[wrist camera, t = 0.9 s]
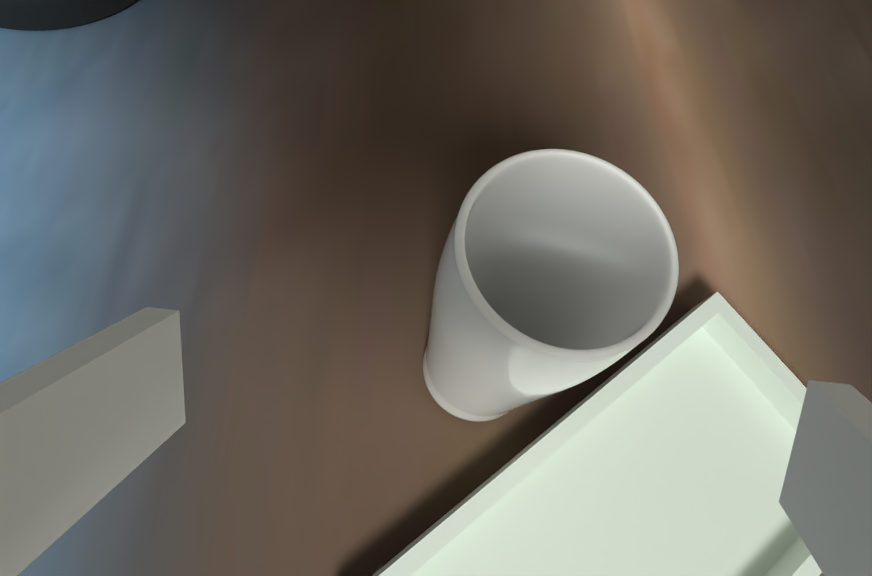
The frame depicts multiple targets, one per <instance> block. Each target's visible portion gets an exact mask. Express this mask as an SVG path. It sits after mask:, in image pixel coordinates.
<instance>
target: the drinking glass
mask: <svg viewBox="0 0 872 576" xmlns="http://www.w3.org/2000/svg"><path fill="white" fill-rule="evenodd" d="M678 276H679V262H678V253H677V247H676V243H675V239H674V236H673V233H672V230H671V228H670V225H669V223H668V221H667V219H666V217H665V215H664V213H663V212H662V210H661V208H660V207H659V205H658V204H657V203H656V201H655V200H654V199H653V197H652V196H651V195H650V194H649V193H648V192H647V190H646V189H645V188H644V187H643V186H641V185H640V184H639V183H638V182H637V181H636V180H635V179H634V178H632V177H631V176H630V175H628V174H627V173H626V172H624V171H623V170H621V169H620V168H618V167H616V166H615V165H613V164H611V163H609V162H607V161H605V160H603V159H600V158H598V157H595V156H592V155H589V154H586V153H582V152H578V151H573V150H565V149H540V150H532V151H528V152H524V153H520V154H517V155H514V156H512V157H510V158H507V159H505V160H503V161H501V162H500V163H498V164H496V165H495V166H493V167H492V168H491V169H489V170H488V171H487V172H486V173H484V174H483V175H482V176H481V177H480V178H479V179H478V180H477V181H476V183H475V184H474V185H473V186H472V188H471V189H470V190H469V192H468V193H467V195H466V197H465V199H464V201H463V203H462V205H461V208H460V210H459V212H458V214H457V216H456V218H455V220H454V223H453V225H452V227H451V230H450V232H449V235H448V237H447V240H446V242H445V245H444V248H443V252H442V255H441V258H440V262H439V265H438V269H437V274H436V279H435V285H434V292H433V301H432V310H431V320H430V329H429V337H428V343H427V346H426V349H425V352H424V357H423V374H424V379H425V382H426V385H427V388H428V390H429V392H430V394H431V395H432V397H433V398H434V400H435V401H436V402H437V403H438V404H439V405H440V406H441V407H442V408H443V409H444V410H446V411H447V412H449V413H450V414H452V415H454V416H456V417H458V418H461V419H464V420H469V421H489V420H493V419H496V418H499V417H501V416H503V415H505V414H507V413H508V412H510V411H511V410H513V409H515V408H518V407H520V406H523V405H526V404H528V403H531V402H534V401H537V400H539V399H542V398H545V397H548V396H551V395H553V394H556V393H559V392H561V391H564V390H567V389H569V388H571V387H573V386H576V385H578V384H580V383H582V382H584V381H586V380H588V379H590V378H591V377H593V376H595V375H597V374H598V373H600V372H602V371H603V370H605V369H606V368H608V367H609V366H611V365H612V364H614V363H615V362H617V361H618V360H619V359H621V358H622V357H623V356H625V355H626V354H627V353H628V352H630V351H631V350H632V349H633V348H635V347H636V346H637V345H638V344H640V343H641V342H642V341H644V340H645V339H646V338H647V337H648V336H649V335H650V334H652V333H653V332H654V331H655V329H656V328H657V327H658V326H659V325H660V323H661V322H662V321H663V319H664V318H665V316H666V314H667V313H668V311H669V309H670V307H671V304H672V302H673V299H674V296H675V293H676V288H677V283H678Z"/></svg>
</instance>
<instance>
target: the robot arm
mask: <svg viewBox="0 0 872 576" xmlns="http://www.w3.org/2000/svg"><path fill="white" fill-rule="evenodd" d="M136 1H137V0H0V28H6V29H14V30H34V31H36V30H54V29H62V28H69V27H74V26H79V25H83V24H87V23H90V22H93V21H97V20H100V19H102V18H105V17H107V16H110V15H112V14H114V13H116V12H119V11H120V10H122V9H124V8H126V7H128V6H129V5H131V4H133V3H134V2H136ZM184 423H185V407H184V389H183V372H182V354H181V337H180V319H179V311H178V310H169V309H159V308H150V307H146V308H144V309H142V310H140V311H138V312H136V313H134V314H132V315H131V316H129V317H127V318H125V319H123V320H121V321H119V322H117V323H115V324H113V325H111V326H109V327H107V328H105V329H104V330H102V331H100V332H98V333H96V334H94V335H92V336H90V337H88V338H86V339H84V340H82V341H80V342H79V343H77V344H75V345H73V346H71V347H69V348H67V349H65V350H63V351H61V352H59V353H57V354H55V355H53V356H52V357H50V358H48V359H46V360H44V361H42V362H40V363H38V364H36V365H34V366H32V367H30V368H28V369H26V370H25V371H23V372H21V373H19V374H17V375H15V376H13V377H11V378H9V379H7V380H5V381H3V382H1V383H0V576H17V575H18V574H19V573H20V572H21V571H23V570H24V569H25V568H26V567H27V566H28V565H29V564H30V563H31V562H32V561H34V560H35V559H36V558H37V557H38V556H39V555H40V554H41V553H42V552H43V551H45V550H46V549H47V548H48V547H49V546H50V545H51V544H52V543H53V542H54V541H56V540H57V539H58V538H59V537H60V536H61V535H62V534H63V533H64V532H65V531H67V530H68V529H69V528H70V527H71V526H72V525H73V524H74V523H75V522H77V521H78V520H79V519H80V518H81V517H82V516H83V515H84V514H85V513H86V512H88V511H89V510H90V509H91V508H92V507H93V506H94V505H95V504H96V503H97V502H99V501H100V500H101V499H102V498H103V497H104V496H105V495H106V494H107V493H108V492H110V491H111V490H112V489H113V488H114V487H115V486H116V485H117V484H118V483H119V482H121V481H122V480H123V479H124V478H125V477H126V476H127V475H128V474H129V473H130V472H132V471H133V470H134V469H135V468H136V467H137V466H138V465H139V464H140V463H142V462H143V461H144V460H145V459H146V458H147V457H148V456H149V455H150V454H151V453H153V452H154V451H155V450H156V449H157V448H158V447H159V446H160V445H161V444H162V443H164V442H165V441H166V440H167V439H168V438H169V437H170V436H171V435H172V434H173V433H175V432H176V431H177V430H178V429H179V428H180V427H181V426H182V425H183V424H184ZM779 503H780V505H781V506H782V508H783V509H784V511H785V513H786V514H787V516H788V518H789V519H790V521H791V522H792V524H793V526H794V527H795V529H796V531H797V532H798V534H799V535H800V537H801V539H802V540H803V542H804V543H805V545H806V547H807V548H808V550H809V552H810V553H811V555H812V556H813V558H814V560H815V561H816V563H817V564H818V566H819V568H820V569H821V571H822V573H823V574H824V576H872V403H871V402H870V401H869V400H867V399H866V398H865V397H864V396H863V395H862V394H861V393H860V392H858V391H857V390H856V389H855V388H854V387H853V386H852V385H848V384H839V383H830V382H821V381H812V380H809V382H808V386H807V390H806V394H805V398H804V402H803V406H802V410H801V414H800V418H799V422H798V426H797V430H796V434H795V438H794V442H793V446H792V450H791V455H790V459H789V463H788V467H787V471H786V475H785V479H784V483H783V487H782V491H781V495H780V499H779Z"/></svg>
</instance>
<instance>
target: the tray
mask: <svg viewBox="0 0 872 576" xmlns="http://www.w3.org/2000/svg"><path fill="white" fill-rule="evenodd" d="M806 390H807V388H806V387H805V386H804V385H803V384H802V383H801V382H800V381H799V380H798V379H797V378H796V376H795V375H794V374H793V373H792V372H791V371H790V370H789V369H788V368H787V367H786V366H785V364H784V363H783V362H782V361H781V360H780V359H779V358H778V357H777V356H776V355H775V354H774V352H773V351H772V350H771V349H770V348H769V347H768V346H767V345H766V344H765V343H764V342H763V340H762V339H761V338H760V337H759V336H758V335H757V334H756V333H755V332H754V331H753V330H752V328H751V327H750V326H749V325H748V324H747V323H746V322H745V321H744V320H743V319H742V318H741V316H740V315H739V314H738V313H737V312H736V311H735V310H734V309H733V308H732V307H731V306H730V305H729V303H728V302H727V301H726V300H725V299H724V298H723V297H722V296H721V295H720V294H719V293H718V292H716V293H715V294H713V295H711V296H710V297H708V298H707V299H705V300H704V301H702V302H701V303H699V304H698V305H696V306H695V307H693V308H692V309H691V310H689V311H688V312H687V313H686V314H685V315H683V316H682V317H681V318H680V319H679V320H677V321H676V322H675V323H674V324H673V325H671V326H670V327H669V328H668V329H667V330H665V331H664V332H663V333H662V334H661V335H660V336H658V337H657V338H656V339H655V340H654V341H652V342H651V343H650V344H649V345H648V346H646V347H645V348H644V349H643V350H642V351H640V352H639V353H638V354H637V355H636V356H634V357H633V358H632V359H631V360H630V361H628V362H627V363H626V364H625V365H624V366H622V367H621V368H620V369H619V370H618V371H616V372H615V373H614V374H613V375H612V376H610V377H609V378H608V379H607V380H606V381H604V382H603V383H602V384H601V385H600V386H598V387H597V388H596V389H595V390H594V391H592V392H591V393H590V394H589V395H588V396H586V397H585V398H584V399H583V400H582V401H580V402H579V403H578V404H577V405H576V406H574V407H573V408H572V409H571V410H570V411H568V412H567V413H566V414H565V415H564V416H562V417H561V418H560V419H559V420H558V421H557V422H555V423H554V424H553V425H552V426H551V427H549V428H548V429H547V430H546V431H545V432H543V433H542V434H541V435H540V436H539V437H537V438H536V439H535V440H534V441H533V442H531V443H530V444H529V445H528V446H527V447H525V448H524V449H523V450H522V451H521V452H519V453H518V454H517V455H516V456H515V457H513V458H512V459H511V460H510V461H509V462H507V463H506V464H505V465H504V466H503V467H501V468H500V469H499V470H498V471H497V472H495V473H494V474H493V475H492V476H491V477H489V478H488V479H487V480H486V481H485V482H483V483H482V484H481V485H480V486H479V487H477V488H476V489H475V490H474V491H473V492H471V493H470V494H469V495H468V496H467V497H465V498H464V499H463V500H462V501H461V502H460V503H458V504H457V505H456V506H455V507H454V508H452V509H451V510H450V511H449V512H448V513H446V514H445V515H444V516H443V517H442V518H440V519H439V520H438V521H437V522H436V523H434V524H433V525H432V526H431V527H430V528H428V529H427V530H426V531H425V532H424V533H422V534H421V535H420V536H419V537H418V538H416V539H415V540H414V541H413V542H412V543H410V544H409V545H408V546H407V547H406V548H404V549H403V550H402V551H401V552H400V553H398V554H397V555H396V556H395V557H394V558H392V559H391V560H390V561H389V562H388V563H386V564H385V565H384V566H383V567H382V568H380V569H379V570H378V571H377V572H376V573H374V574H373V575H372V576H819V575H820V574H821V573H822V571H821V569H820V568H819V566H818V564H817V563H816V561H815V560H814V558H813V556H812V555H811V553H810V552H809V550H808V548H807V547H806V545H805V543H804V542H803V540H802V539H801V537H800V535H799V534H798V532H797V531H796V529H795V527H794V526H793V524H792V522H791V521H790V519H789V518H788V516H787V514H786V513H785V511H784V509H783V508H782V506H781V505H780V503H779V499H780V495H781V491H782V487H783V483H784V479H785V475H786V471H787V467H788V463H789V459H790V455H791V450H792V446H793V442H794V438H795V434H796V430H797V426H798V422H799V418H800V414H801V410H802V406H803V402H804V398H805V394H806Z"/></svg>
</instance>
